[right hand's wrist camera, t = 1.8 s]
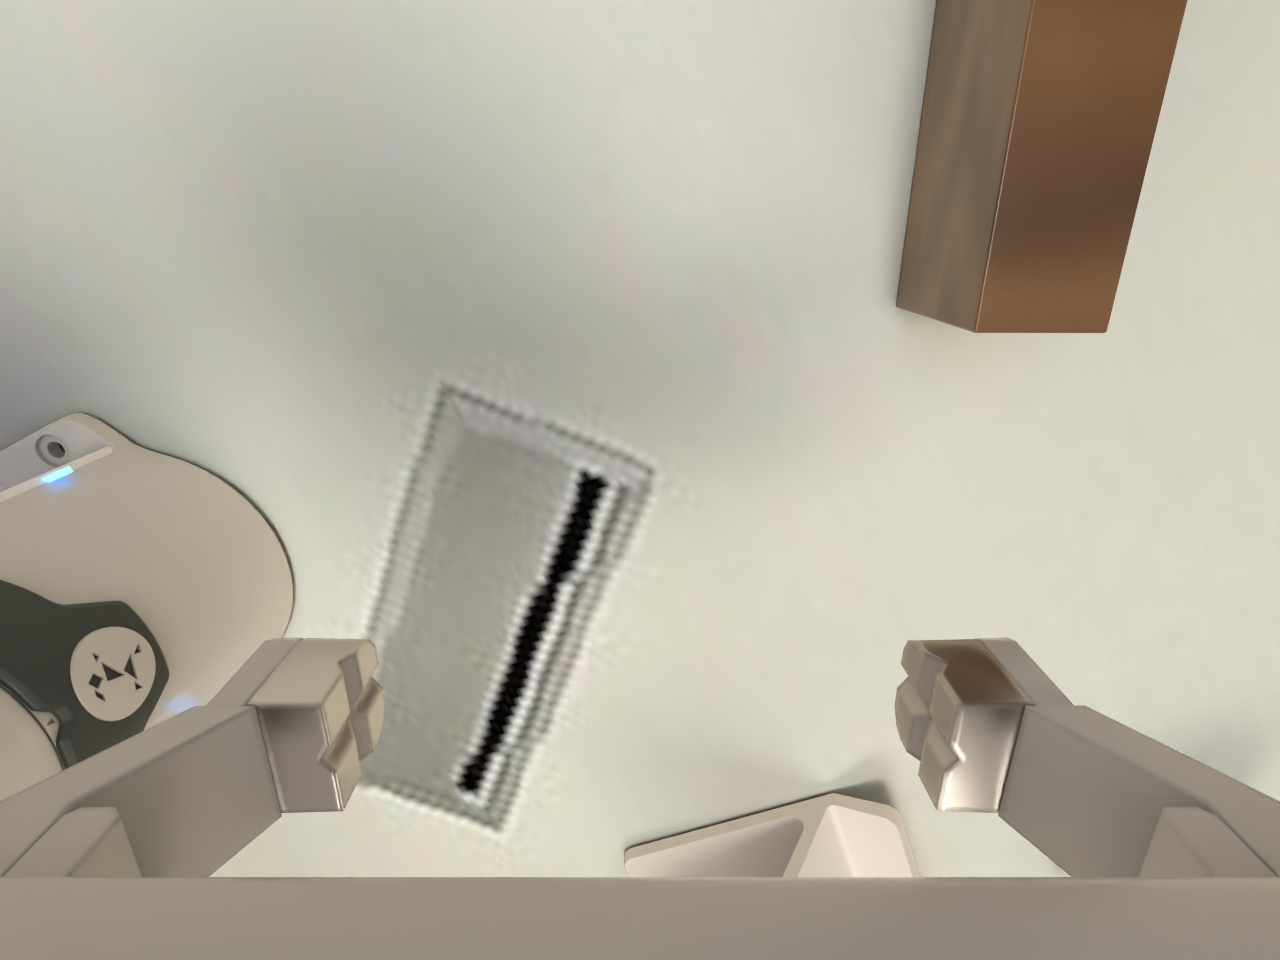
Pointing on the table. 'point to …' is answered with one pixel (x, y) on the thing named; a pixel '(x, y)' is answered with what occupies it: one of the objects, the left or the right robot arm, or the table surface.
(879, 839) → the tablet stand
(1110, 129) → the bar
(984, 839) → the table surface
